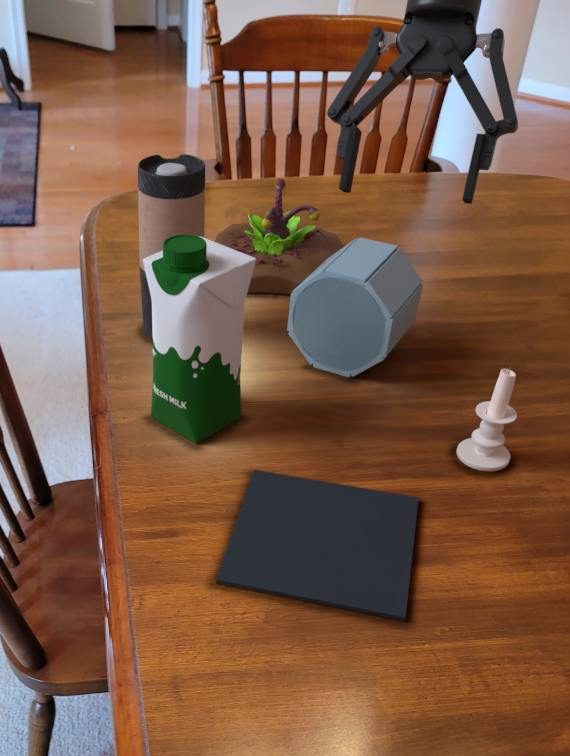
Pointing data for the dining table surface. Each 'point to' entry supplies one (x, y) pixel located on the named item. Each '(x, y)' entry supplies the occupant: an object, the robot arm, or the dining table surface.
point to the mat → (323, 544)
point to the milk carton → (197, 333)
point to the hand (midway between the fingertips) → (404, 196)
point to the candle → (491, 429)
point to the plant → (281, 246)
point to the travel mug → (167, 210)
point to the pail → (354, 307)
